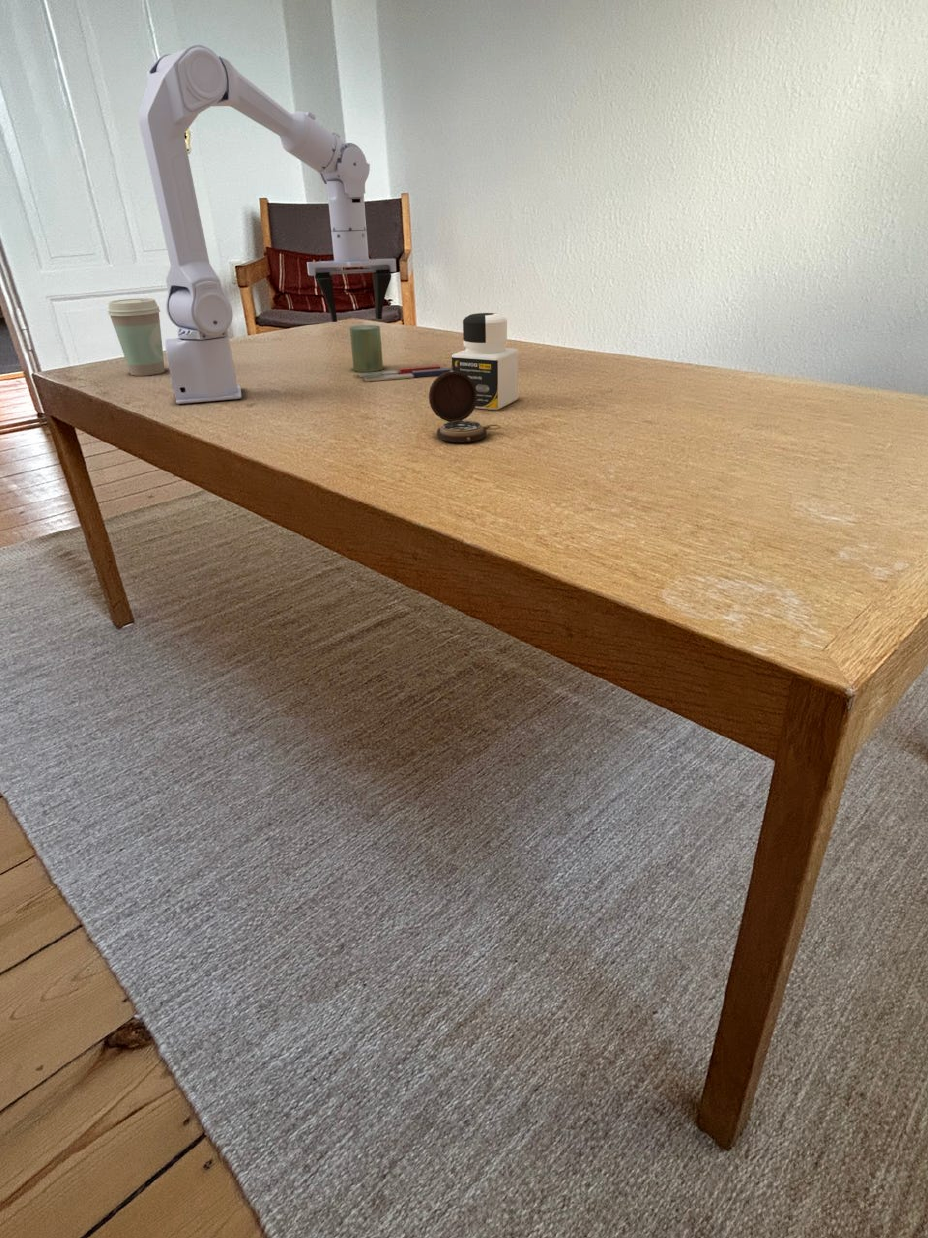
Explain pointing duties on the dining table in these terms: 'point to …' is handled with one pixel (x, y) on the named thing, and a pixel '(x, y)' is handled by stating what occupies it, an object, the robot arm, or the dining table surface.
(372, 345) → the can
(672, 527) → the dining table surface
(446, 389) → the compass
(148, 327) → the coffee cup
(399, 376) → the knife
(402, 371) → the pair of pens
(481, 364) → the medicine bottle
